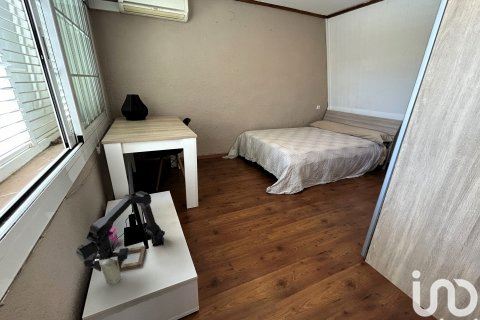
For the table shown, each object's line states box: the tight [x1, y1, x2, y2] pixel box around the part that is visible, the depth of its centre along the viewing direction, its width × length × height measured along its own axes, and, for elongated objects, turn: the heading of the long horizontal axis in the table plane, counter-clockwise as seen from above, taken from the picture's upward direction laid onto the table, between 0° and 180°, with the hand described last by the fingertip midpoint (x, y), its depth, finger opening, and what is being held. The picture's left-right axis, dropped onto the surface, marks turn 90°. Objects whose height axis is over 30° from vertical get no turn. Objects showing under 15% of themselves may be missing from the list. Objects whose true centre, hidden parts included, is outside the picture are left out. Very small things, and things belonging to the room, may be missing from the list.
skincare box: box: [100, 258, 122, 285], centre depth 108 cm, size 6×4×12 cm
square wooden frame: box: [116, 245, 147, 272], centre depth 122 cm, size 14×14×2 cm
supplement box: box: [109, 227, 119, 249], centre depth 130 cm, size 6×6×12 cm
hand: (110, 269), depth 107 cm, fingers open, 9 cm apart
